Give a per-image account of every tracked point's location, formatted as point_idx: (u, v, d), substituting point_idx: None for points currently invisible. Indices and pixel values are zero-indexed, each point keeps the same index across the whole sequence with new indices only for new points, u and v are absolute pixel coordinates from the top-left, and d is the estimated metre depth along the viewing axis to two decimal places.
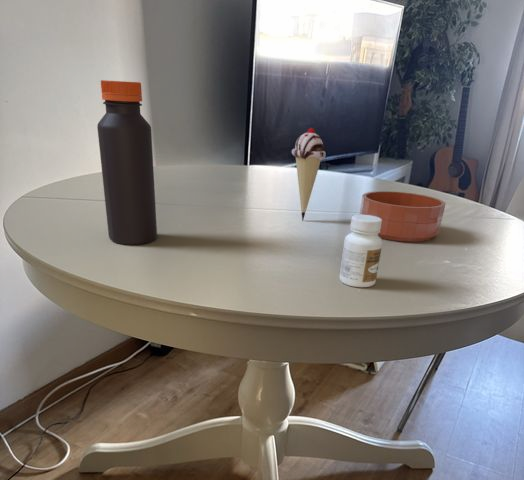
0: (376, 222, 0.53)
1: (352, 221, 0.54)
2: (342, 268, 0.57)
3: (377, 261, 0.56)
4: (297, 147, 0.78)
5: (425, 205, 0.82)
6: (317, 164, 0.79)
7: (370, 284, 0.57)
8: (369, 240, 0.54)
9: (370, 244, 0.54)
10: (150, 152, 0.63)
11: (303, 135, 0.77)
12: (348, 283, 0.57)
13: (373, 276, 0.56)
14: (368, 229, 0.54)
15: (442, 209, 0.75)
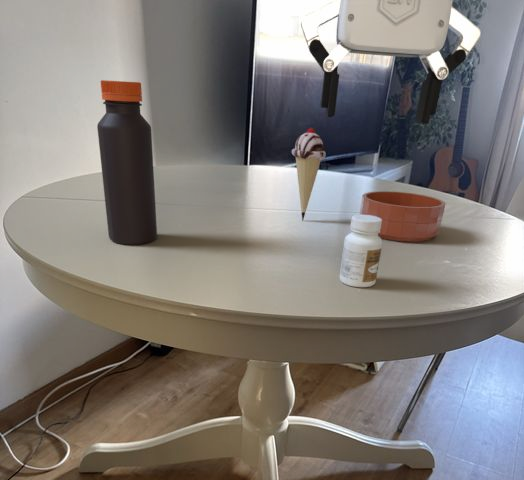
0: (376, 222, 0.53)
1: (352, 221, 0.54)
2: (342, 268, 0.57)
3: (377, 261, 0.56)
4: (297, 147, 0.78)
5: (425, 205, 0.82)
6: (317, 164, 0.79)
7: (370, 284, 0.57)
8: (369, 240, 0.54)
9: (370, 244, 0.54)
10: (150, 152, 0.63)
11: (303, 135, 0.77)
12: (348, 283, 0.57)
13: (373, 276, 0.56)
14: (368, 229, 0.54)
15: (442, 209, 0.75)
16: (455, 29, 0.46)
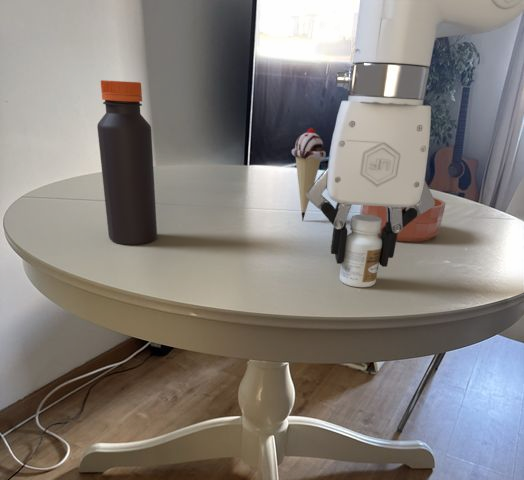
0: (376, 222, 0.53)
1: (352, 221, 0.54)
2: (342, 268, 0.57)
3: (377, 261, 0.56)
4: (297, 147, 0.78)
5: None
6: (317, 164, 0.79)
7: (370, 284, 0.57)
8: (369, 240, 0.54)
9: (370, 244, 0.54)
10: (150, 152, 0.63)
11: (303, 135, 0.77)
12: (348, 283, 0.57)
13: (373, 276, 0.56)
14: (368, 229, 0.54)
15: (442, 209, 0.75)
16: None
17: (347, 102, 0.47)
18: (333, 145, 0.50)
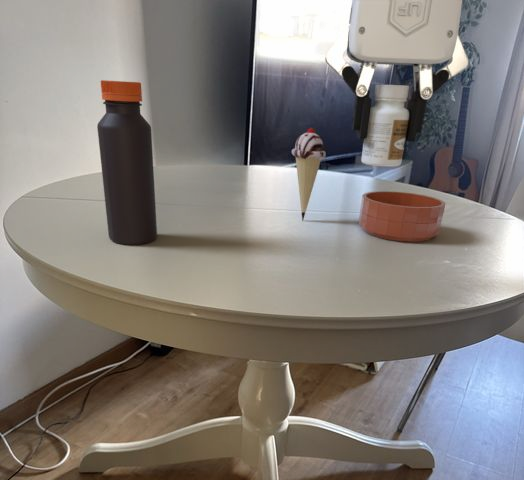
0: (403, 86, 0.48)
1: (376, 88, 0.49)
2: (365, 147, 0.52)
3: (404, 135, 0.50)
4: (297, 147, 0.78)
5: (425, 205, 0.82)
6: (317, 164, 0.79)
7: (396, 163, 0.51)
8: (395, 108, 0.49)
9: (396, 112, 0.49)
10: (150, 152, 0.63)
11: (303, 135, 0.77)
12: (372, 162, 0.51)
13: (399, 153, 0.51)
14: (394, 95, 0.48)
15: (442, 209, 0.75)
16: None
17: None
18: None
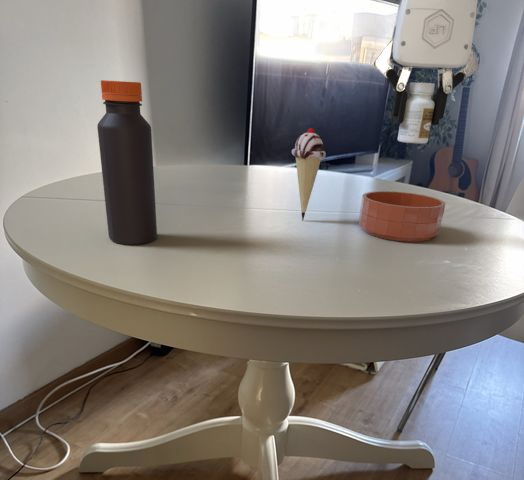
0: (431, 84, 0.66)
1: (411, 85, 0.67)
2: (401, 129, 0.70)
3: (430, 120, 0.69)
4: (297, 147, 0.78)
5: (425, 205, 0.82)
6: (317, 164, 0.79)
7: (424, 140, 0.69)
8: (425, 100, 0.67)
9: (426, 103, 0.67)
10: (150, 152, 0.63)
11: (303, 135, 0.77)
12: (406, 140, 0.69)
13: (427, 133, 0.69)
14: (424, 90, 0.66)
15: (442, 209, 0.75)
16: None
17: None
18: (400, 14, 0.62)
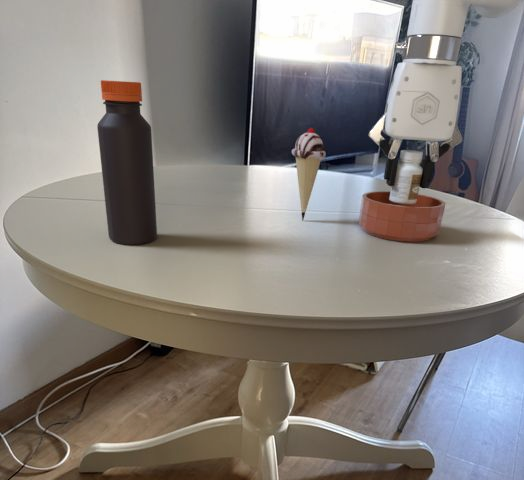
0: (419, 153, 0.74)
1: (401, 153, 0.75)
2: (392, 190, 0.77)
3: (418, 184, 0.76)
4: (297, 147, 0.78)
5: (425, 205, 0.82)
6: (317, 164, 0.79)
7: (413, 202, 0.77)
8: (413, 167, 0.74)
9: (414, 170, 0.74)
10: (150, 152, 0.63)
11: (303, 135, 0.77)
12: (397, 201, 0.77)
13: (415, 195, 0.77)
14: (413, 158, 0.74)
15: (442, 209, 0.75)
16: None
17: (403, 63, 0.68)
18: (391, 95, 0.70)
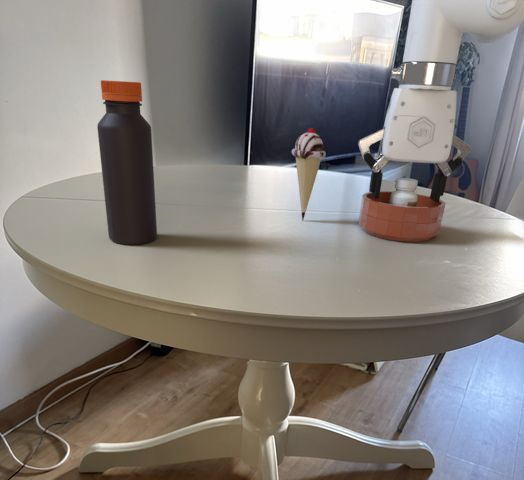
0: (414, 182, 0.76)
1: (397, 181, 0.77)
2: None
3: None
4: (297, 147, 0.78)
5: (425, 205, 0.82)
6: (317, 164, 0.79)
7: None
8: (409, 195, 0.76)
9: (409, 197, 0.76)
10: (150, 152, 0.63)
11: (303, 135, 0.77)
12: None
13: None
14: (408, 187, 0.76)
15: (442, 209, 0.75)
16: (455, 146, 0.74)
17: (399, 89, 0.69)
18: (388, 119, 0.71)
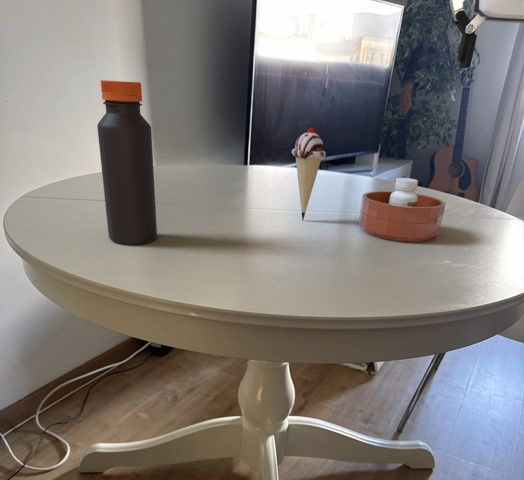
0: (414, 182, 0.76)
1: (397, 181, 0.77)
2: None
3: None
4: (297, 147, 0.78)
5: (425, 205, 0.82)
6: (317, 164, 0.79)
7: None
8: (409, 195, 0.76)
9: (409, 197, 0.76)
10: (150, 152, 0.63)
11: (303, 135, 0.77)
12: None
13: None
14: (408, 187, 0.76)
15: (442, 209, 0.75)
16: None
17: None
18: None
